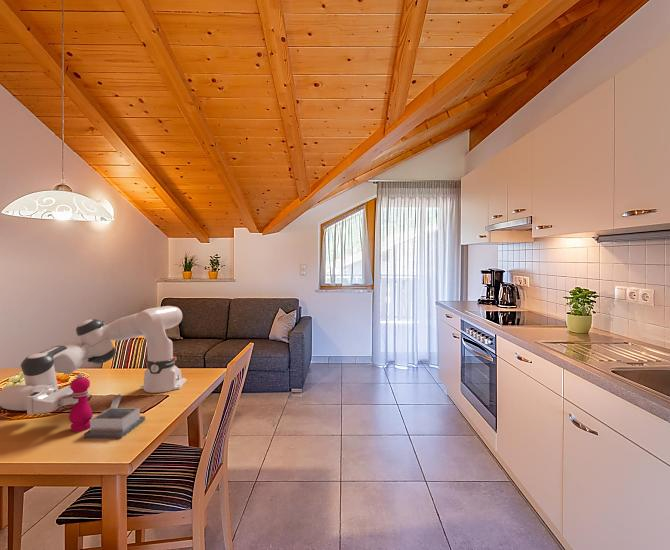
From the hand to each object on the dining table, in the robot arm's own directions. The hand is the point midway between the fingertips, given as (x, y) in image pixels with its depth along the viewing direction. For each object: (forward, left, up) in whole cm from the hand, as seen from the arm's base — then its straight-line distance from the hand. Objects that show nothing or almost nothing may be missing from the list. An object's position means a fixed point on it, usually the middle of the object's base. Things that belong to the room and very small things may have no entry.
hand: (82, 398), depth 147 cm
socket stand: (0, +12, -11) cm, 16 cm away
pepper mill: (0, -1, -11) cm, 11 cm away
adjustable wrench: (-18, +1, -11) cm, 21 cm away
